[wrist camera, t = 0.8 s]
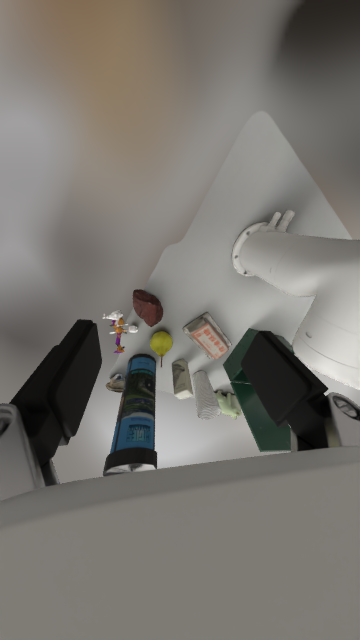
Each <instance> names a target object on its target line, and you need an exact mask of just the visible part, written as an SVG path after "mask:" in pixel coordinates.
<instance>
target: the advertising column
mask: <svg viewBox="0 0 360 640" xmlns="http://www.w3.org/2000/svg"><path fill="white" fill-rule="evenodd" d="M155 385H156V361H155V359H154V358H153V357H152V356H150V355H147V354H137V355H134V356H133V357H132V358H130V360H129V363H128V368H127V373H126V378H125V383H124V388H123V393H122V397H121V402H120V407H119V412H118V418H117V422H116V427H115V432H114V437H113V442H112V447H111V452H110V454H109V455H108V456H107V458H106V462H105V467H104V471H103V476H104V477H105V476H111V475H118V474H125V473H131V472H139V471H147V470H155V469H157V452H156V451H154V449H155V448H154V447H155Z"/></svg>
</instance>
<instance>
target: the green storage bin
mask: <svg viewBox="0 0 360 640" xmlns="http://www.w3.org/2000/svg"><path fill="white" fill-rule="evenodd" d="M258 332H259V331H258V330H254V329H250V328H249V329H248V331H247V332H246V333H245V335H244V336H243V338H242V339H241V340H240V342H239V343H238V345H237V346H236V347H235V349H234V350H233V352H232V353H231V355H230V356H229V357H228V359H227V360H226V362H225V363H224V364H223V366H224V368H225V370H226V373H227V375H228V377H229V379H230V381H232V382H240V383H248V384H251V383H250V382H249V380H248V378H247V376H246V375H245V373H244V371H243V369H242V367H241V361H242V359H243V357H244V355H245V354H246V352H247V350H248V348H249V346H250V344H251V343H252V341H253V339H254V337H255V335H256V334H257V333H258ZM275 336H276V337H277V338H278V339H279V340H280V341H281V342H282V343H283V344H284V345H285V346H286V347H287V348H288V349H289V350H290V351H291V352H292V353H293V354H295V353H294V350H293V346H291V345H290V344H289V343H288V342H287V341H286V340H285V339H284V338H283V337H282V336H278V335H275Z"/></svg>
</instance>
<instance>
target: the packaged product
mask: <svg viewBox="0 0 360 640" xmlns="http://www.w3.org/2000/svg"><path fill="white" fill-rule="evenodd" d="M183 331H184V332H185V333H186V334H187V335H188V336H189V337H190V339H191V340H192V341H193V342H194V343H195V344H196V345H197V346H198V347H199V348H200V349H201V350H202V351H203V352H204V353H205V354H206V355H207V356H208V357H209V358H212V357H213V358H214V359H218V358H220V357H221V356H222V355H223V354H224V353H226V352H227V351H228V350H229V346H230V345H232V344H231V343H230V341H229V340H228V338H227V337H226V336H225V335H224V333H223V332H222V331H221V329H220V328H219V326H218V325H217V324H216V323H215V321H214V320H213V319H212V317H211V316H210V315H209V313H208V312H207V313H205V314H204V315H202V316H200V317H199V318H197V319H196V320H194V321H193V322H191V323H190V324H188V325H187V326H185V327H184V328H183Z"/></svg>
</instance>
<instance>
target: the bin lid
mask: <svg viewBox="0 0 360 640" xmlns="http://www.w3.org/2000/svg"><path fill="white" fill-rule="evenodd" d="M230 384H231V386H232V388H233V390H234V393H235V395H236V397H237V400H238V402H239V404H240V407H241V409H242V411H243V413H244V416H245V418H246V420H247V423H248V425H249V427H250V429H251V431H252V434H253V436H254V438H255V441H256V443H257V446H258V448H259V450H260V452H273V451H291V428H290V426H289V425H287V426H286V427H277V426H276V424H275V422H274V421H273V420H272V419H271V418H270V417H269V415H268V413H267V411H266V410H265V408H264V406H263V404H262V403H261V401H260V399H259V397H258V396H257V394H256V392H255V390H254V389H253V387H252V385H251V384H244V383H236V382H231V383H230Z"/></svg>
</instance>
